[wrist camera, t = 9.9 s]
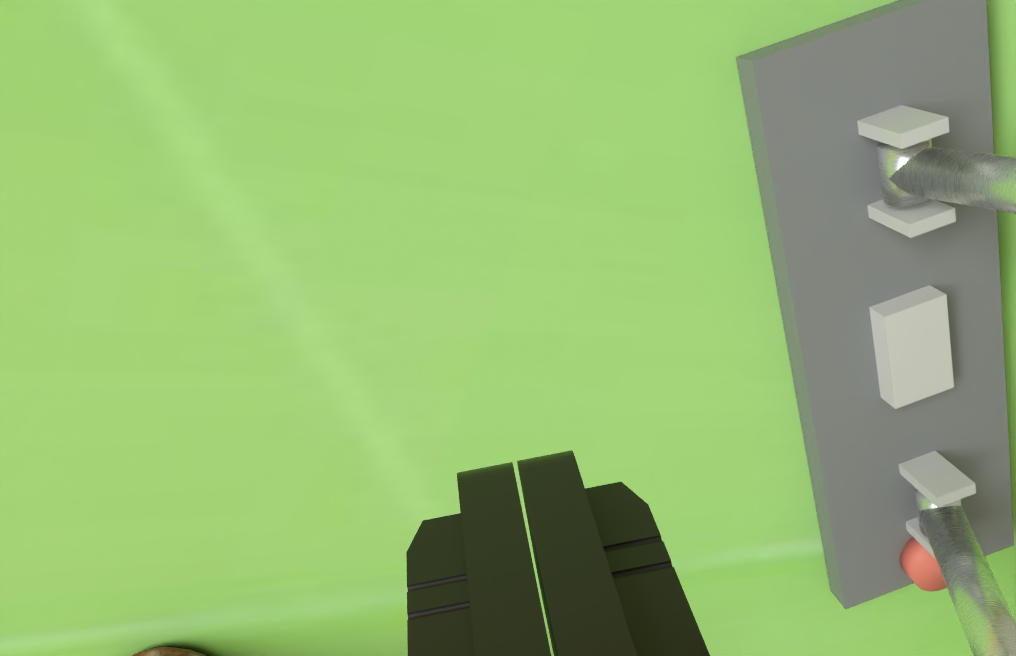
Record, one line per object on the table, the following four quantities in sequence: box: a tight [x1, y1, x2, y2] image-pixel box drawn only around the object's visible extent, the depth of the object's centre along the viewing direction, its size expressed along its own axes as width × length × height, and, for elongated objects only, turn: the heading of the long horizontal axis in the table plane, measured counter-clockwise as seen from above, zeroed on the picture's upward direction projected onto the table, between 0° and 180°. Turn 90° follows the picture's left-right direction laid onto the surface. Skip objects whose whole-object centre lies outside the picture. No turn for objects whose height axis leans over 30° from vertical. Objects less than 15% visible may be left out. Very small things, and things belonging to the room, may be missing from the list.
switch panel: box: [736, 0, 1014, 609], centre depth 40 cm, size 10×30×4 cm, turn 17°
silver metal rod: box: [915, 488, 1016, 656], centre depth 37 cm, size 4×4×17 cm
